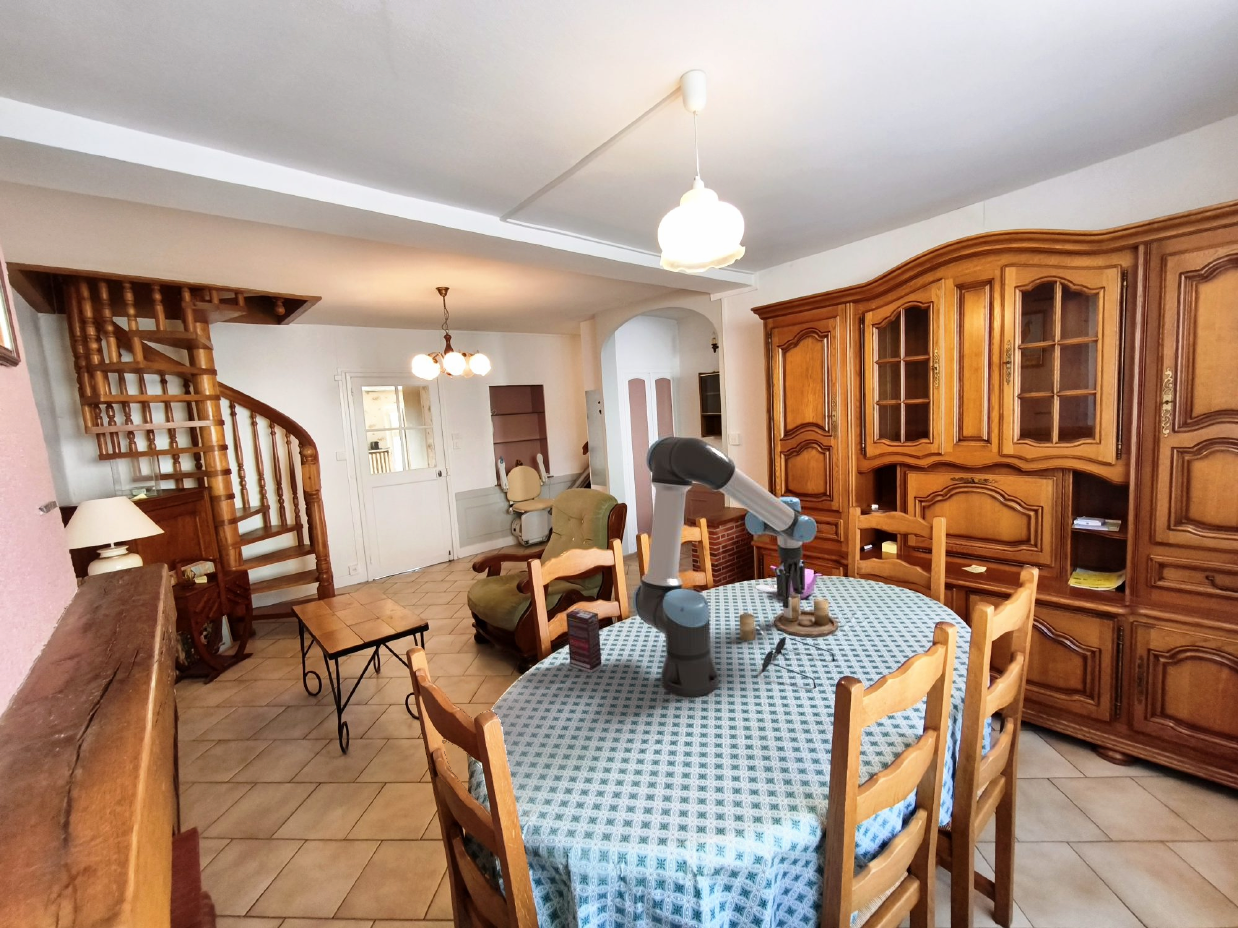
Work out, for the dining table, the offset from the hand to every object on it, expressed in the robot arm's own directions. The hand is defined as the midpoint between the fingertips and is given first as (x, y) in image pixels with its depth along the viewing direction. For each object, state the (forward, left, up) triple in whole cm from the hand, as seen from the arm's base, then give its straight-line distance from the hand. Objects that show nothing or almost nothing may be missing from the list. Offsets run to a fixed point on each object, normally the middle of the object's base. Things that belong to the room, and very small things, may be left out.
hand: (792, 614), depth 174 cm
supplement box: (-15, +69, -3) cm, 70 cm away
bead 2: (0, 0, -1) cm, 1 cm away
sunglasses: (-29, +11, -3) cm, 31 cm away
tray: (-5, -2, -2) cm, 6 cm away
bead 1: (-8, +18, -3) cm, 20 cm away
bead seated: (-5, -8, -2) cm, 9 cm away
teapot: (+23, -11, -3) cm, 26 cm away
